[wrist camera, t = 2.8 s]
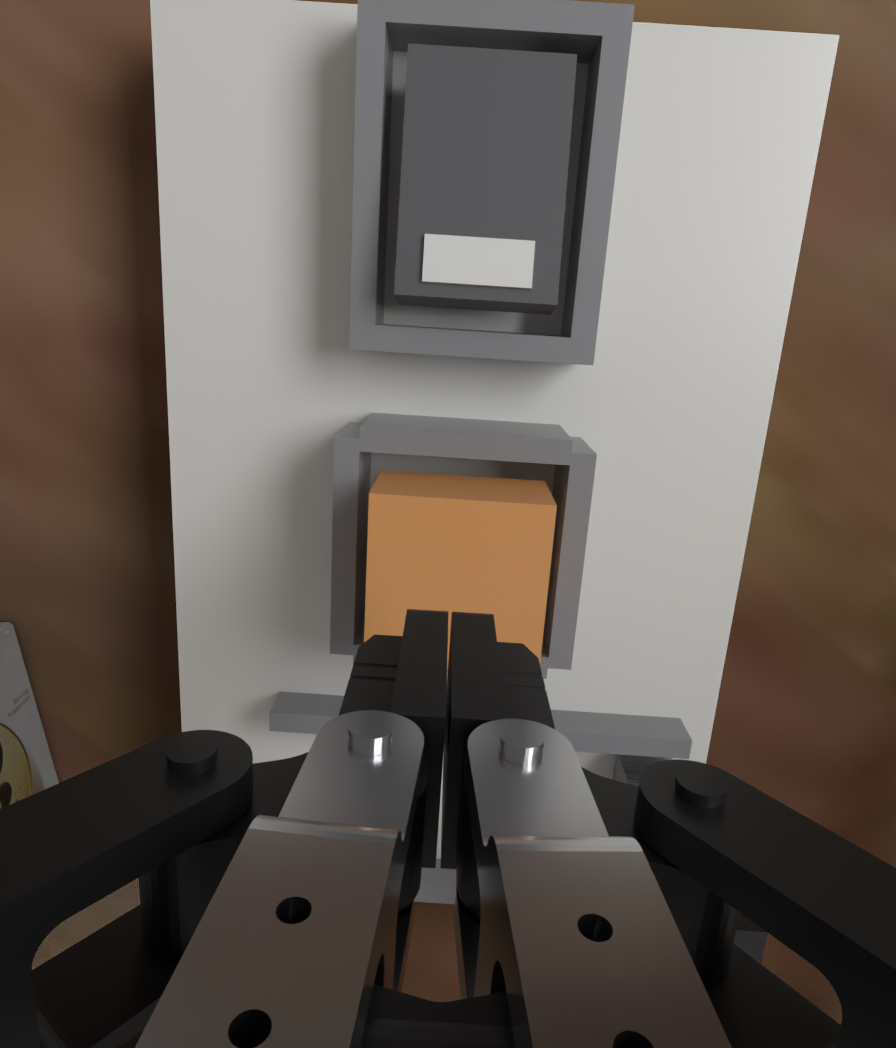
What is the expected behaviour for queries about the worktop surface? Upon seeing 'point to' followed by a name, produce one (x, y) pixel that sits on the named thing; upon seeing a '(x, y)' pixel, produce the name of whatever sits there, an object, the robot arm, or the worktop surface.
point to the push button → (459, 552)
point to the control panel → (471, 350)
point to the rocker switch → (483, 178)
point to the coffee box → (20, 728)
